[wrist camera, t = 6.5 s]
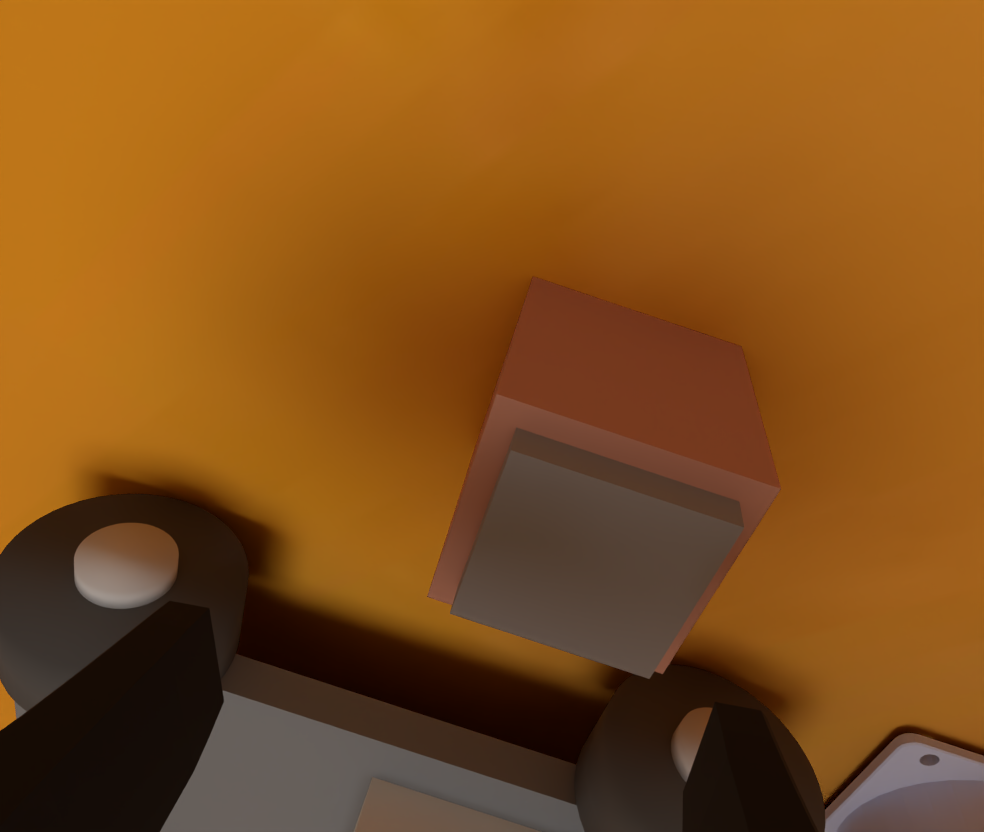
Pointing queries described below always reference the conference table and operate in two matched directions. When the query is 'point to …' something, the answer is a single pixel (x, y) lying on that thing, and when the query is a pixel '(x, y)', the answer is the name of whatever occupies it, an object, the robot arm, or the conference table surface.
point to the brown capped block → (607, 483)
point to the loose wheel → (110, 584)
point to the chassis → (450, 762)
